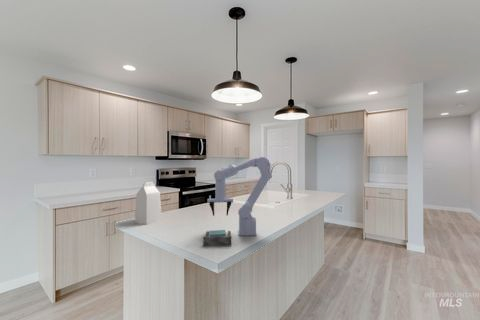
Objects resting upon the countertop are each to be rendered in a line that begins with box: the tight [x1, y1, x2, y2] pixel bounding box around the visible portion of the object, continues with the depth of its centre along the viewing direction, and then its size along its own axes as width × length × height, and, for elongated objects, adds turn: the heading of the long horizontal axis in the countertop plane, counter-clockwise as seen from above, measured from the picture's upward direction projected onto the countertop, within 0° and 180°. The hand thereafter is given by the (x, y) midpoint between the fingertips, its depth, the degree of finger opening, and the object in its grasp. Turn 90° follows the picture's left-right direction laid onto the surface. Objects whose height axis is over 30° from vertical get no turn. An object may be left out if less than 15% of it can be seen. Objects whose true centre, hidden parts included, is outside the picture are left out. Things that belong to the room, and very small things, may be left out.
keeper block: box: [209, 229, 227, 236], centre depth 111 cm, size 8×6×5 cm
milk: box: [134, 181, 163, 226], centre depth 148 cm, size 12×12×26 cm
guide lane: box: [202, 230, 232, 247], centre depth 115 cm, size 13×18×4 cm
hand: (220, 215), depth 127 cm, fingers open, 7 cm apart
